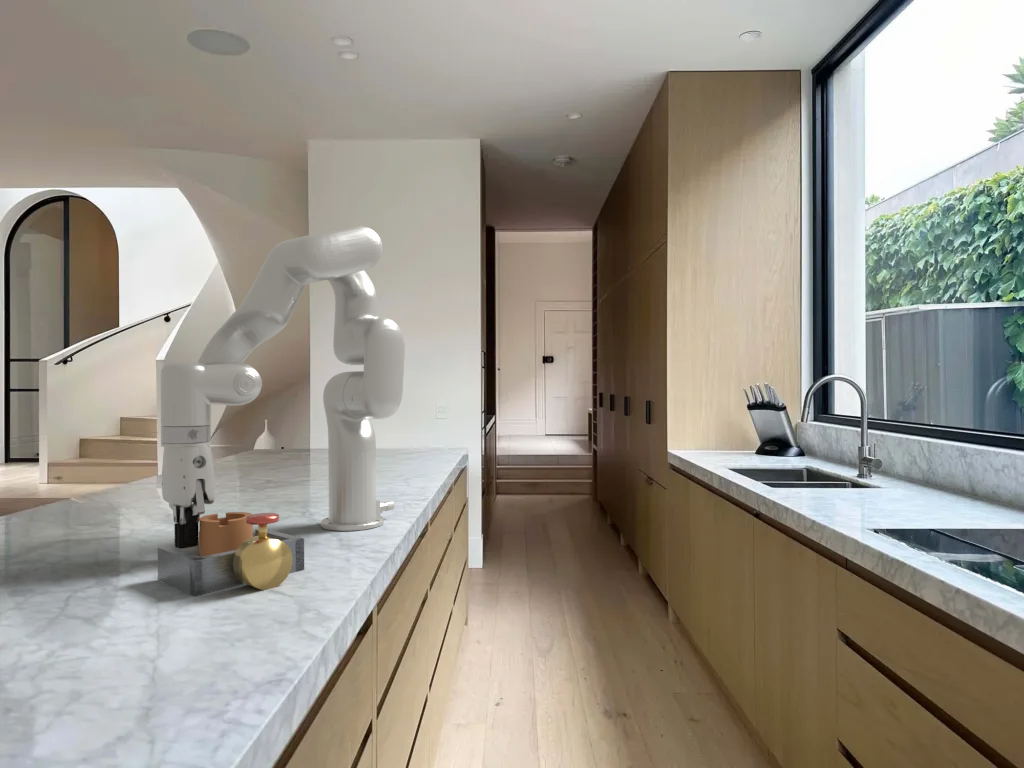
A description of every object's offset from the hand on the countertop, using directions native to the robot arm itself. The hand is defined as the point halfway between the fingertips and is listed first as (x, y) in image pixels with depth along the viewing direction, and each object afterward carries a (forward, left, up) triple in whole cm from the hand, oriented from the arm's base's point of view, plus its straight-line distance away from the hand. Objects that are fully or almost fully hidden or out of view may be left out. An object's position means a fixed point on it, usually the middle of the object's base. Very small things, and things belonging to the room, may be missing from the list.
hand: (186, 546), depth 113 cm
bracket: (-7, -1, -3) cm, 8 cm away
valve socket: (0, +15, -2) cm, 15 cm away
